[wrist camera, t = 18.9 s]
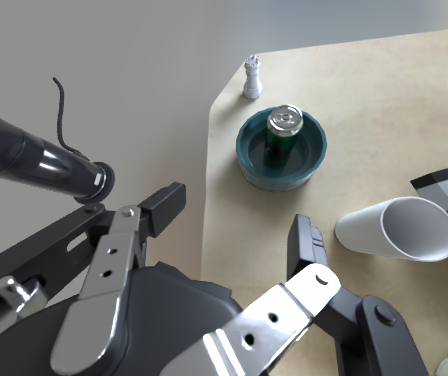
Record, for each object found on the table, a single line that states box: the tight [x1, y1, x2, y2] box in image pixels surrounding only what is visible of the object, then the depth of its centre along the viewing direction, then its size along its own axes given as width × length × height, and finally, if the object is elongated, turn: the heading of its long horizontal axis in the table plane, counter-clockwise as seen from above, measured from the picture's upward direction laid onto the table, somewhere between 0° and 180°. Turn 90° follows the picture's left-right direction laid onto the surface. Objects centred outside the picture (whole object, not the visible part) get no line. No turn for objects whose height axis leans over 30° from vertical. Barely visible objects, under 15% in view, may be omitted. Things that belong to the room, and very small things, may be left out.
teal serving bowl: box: [236, 107, 327, 192], centre depth 33 cm, size 15×15×6 cm
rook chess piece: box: [244, 55, 262, 99], centre depth 38 cm, size 4×4×8 cm
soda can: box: [263, 105, 303, 167], centre depth 29 cm, size 5×5×12 cm
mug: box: [335, 196, 448, 262], centre depth 23 cm, size 10×7×12 cm, turn 88°
